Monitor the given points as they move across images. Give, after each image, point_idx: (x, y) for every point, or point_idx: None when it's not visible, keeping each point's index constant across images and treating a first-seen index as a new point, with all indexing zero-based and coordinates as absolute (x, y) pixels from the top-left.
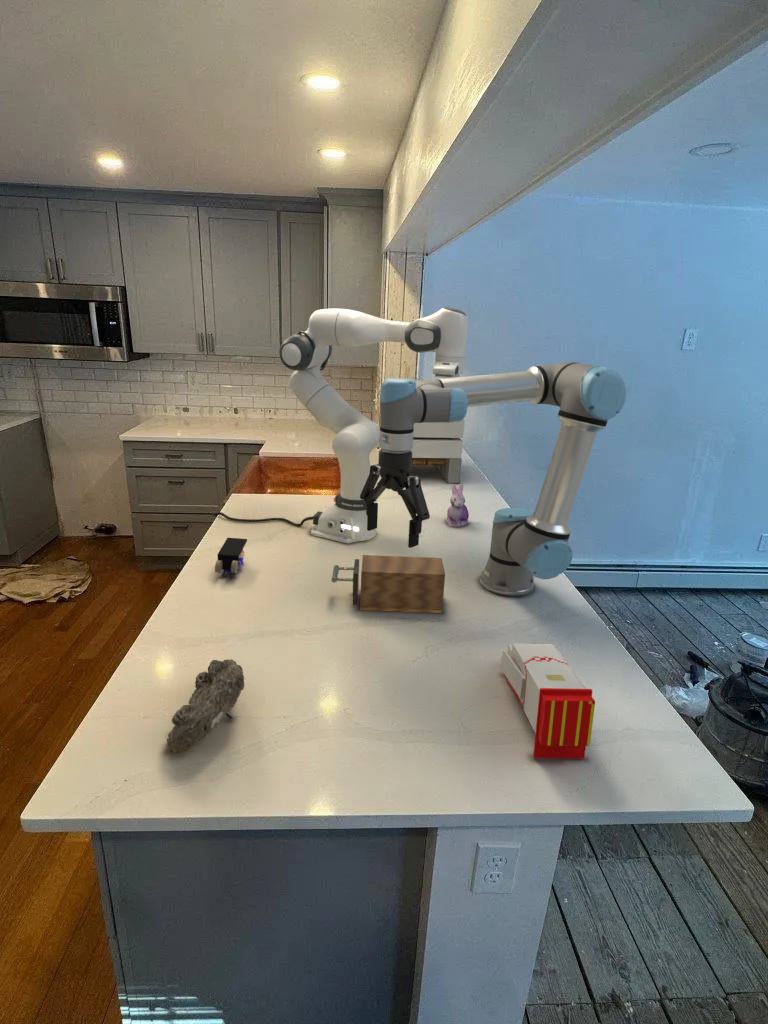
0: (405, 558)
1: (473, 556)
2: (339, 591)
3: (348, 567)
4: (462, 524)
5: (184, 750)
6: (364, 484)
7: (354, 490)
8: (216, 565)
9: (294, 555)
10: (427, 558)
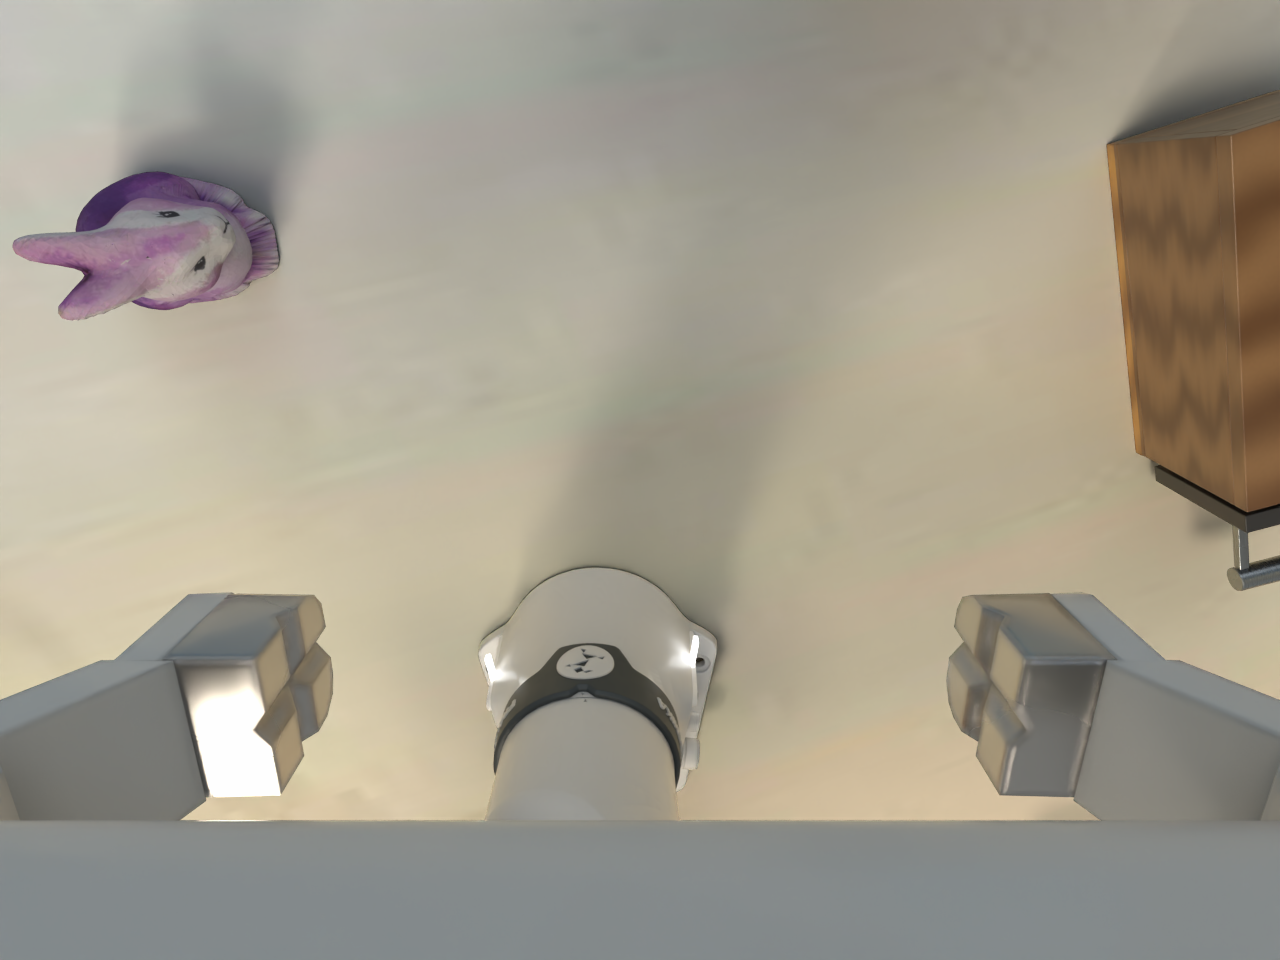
0: (1263, 317)
1: (630, 54)
2: (1149, 524)
3: (1241, 537)
4: (233, 196)
5: None
6: (649, 780)
7: (675, 795)
8: None
9: (889, 762)
10: (1248, 208)
